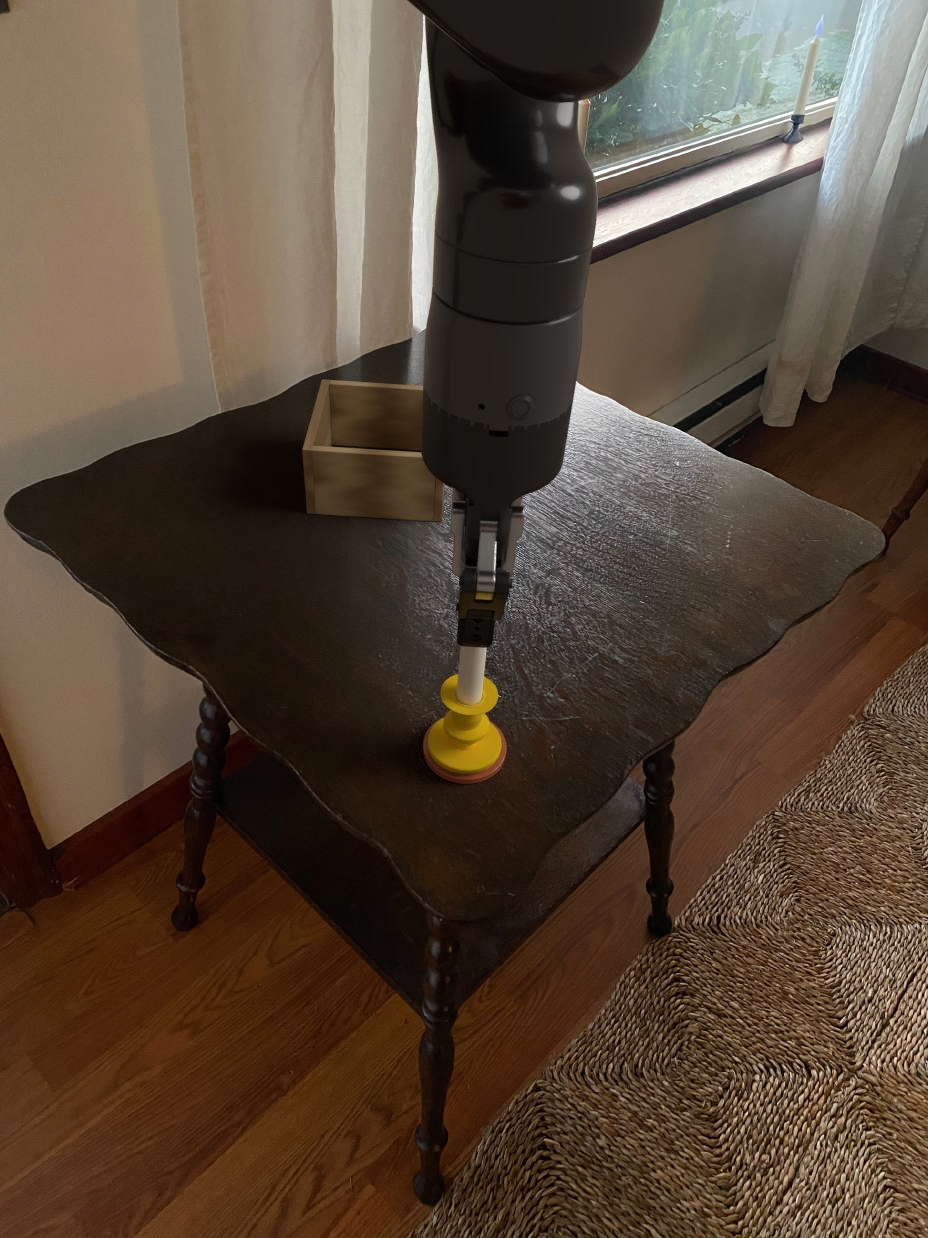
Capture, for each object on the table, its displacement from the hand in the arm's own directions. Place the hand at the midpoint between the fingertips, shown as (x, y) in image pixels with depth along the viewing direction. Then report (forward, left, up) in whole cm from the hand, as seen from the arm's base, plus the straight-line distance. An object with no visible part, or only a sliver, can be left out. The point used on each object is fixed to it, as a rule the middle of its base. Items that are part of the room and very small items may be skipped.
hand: (474, 630), depth 56 cm
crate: (-9, +33, -12) cm, 36 cm away
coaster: (0, 0, -12) cm, 12 cm away
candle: (0, 0, -11) cm, 11 cm away
